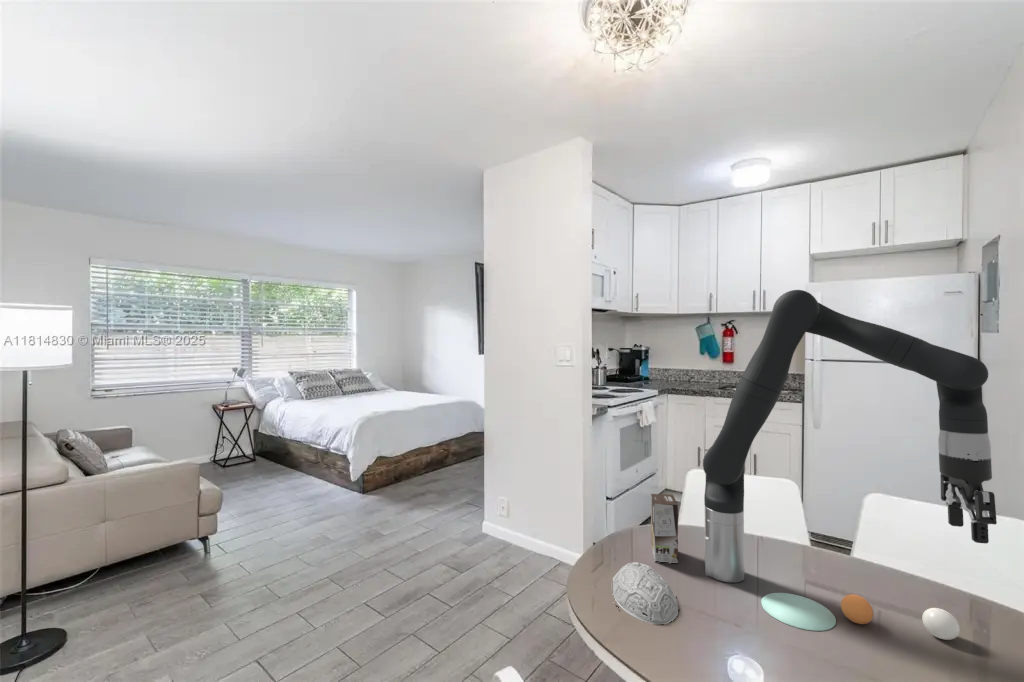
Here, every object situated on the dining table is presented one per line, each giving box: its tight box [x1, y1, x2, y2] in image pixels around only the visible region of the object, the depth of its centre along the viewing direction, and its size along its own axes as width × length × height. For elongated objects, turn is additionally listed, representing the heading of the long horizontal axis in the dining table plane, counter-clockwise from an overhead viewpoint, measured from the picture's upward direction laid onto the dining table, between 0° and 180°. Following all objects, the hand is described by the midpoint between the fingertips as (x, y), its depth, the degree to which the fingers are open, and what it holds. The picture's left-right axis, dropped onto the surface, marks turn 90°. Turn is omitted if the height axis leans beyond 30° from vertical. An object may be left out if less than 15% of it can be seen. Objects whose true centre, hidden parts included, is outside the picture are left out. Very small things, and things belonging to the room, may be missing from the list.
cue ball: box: [921, 607, 961, 641], centre depth 92 cm, size 6×6×6 cm
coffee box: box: [650, 493, 679, 564], centre depth 128 cm, size 9×6×16 cm
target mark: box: [760, 592, 837, 632], centre depth 101 cm, size 14×14×1 cm
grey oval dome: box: [612, 561, 679, 625], centre depth 108 cm, size 16×25×7 cm, turn 177°
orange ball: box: [840, 594, 874, 625], centre depth 97 cm, size 6×6×6 cm
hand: (967, 533), depth 92 cm, fingers open, 8 cm apart
